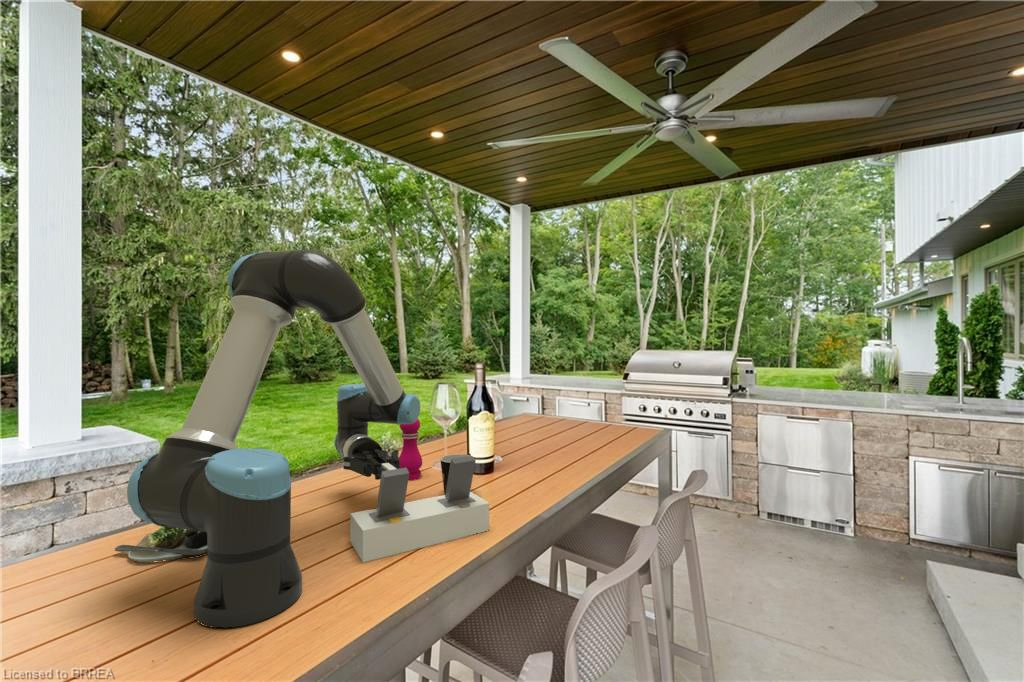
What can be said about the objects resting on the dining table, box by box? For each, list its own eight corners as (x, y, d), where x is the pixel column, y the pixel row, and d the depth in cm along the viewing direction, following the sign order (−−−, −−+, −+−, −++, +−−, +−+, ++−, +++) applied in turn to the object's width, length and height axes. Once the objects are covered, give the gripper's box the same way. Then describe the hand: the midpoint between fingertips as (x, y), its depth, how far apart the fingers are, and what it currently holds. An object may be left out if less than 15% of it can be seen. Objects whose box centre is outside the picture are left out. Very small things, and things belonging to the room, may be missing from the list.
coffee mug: (467, 502, 118) (467, 463, 118) (435, 500, 120) (435, 461, 120) (479, 488, 130) (479, 452, 130) (450, 486, 132) (450, 450, 131)
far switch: (448, 501, 100) (454, 463, 97) (444, 496, 102) (451, 459, 99) (468, 497, 103) (475, 460, 100) (465, 492, 104) (472, 455, 102)
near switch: (378, 516, 92) (384, 477, 89) (376, 510, 94) (381, 471, 90) (403, 511, 95) (409, 473, 92) (400, 505, 96) (406, 467, 93)
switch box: (363, 562, 87) (362, 528, 87) (350, 542, 96) (350, 511, 96) (489, 530, 101) (489, 500, 101) (468, 515, 110) (468, 488, 110)
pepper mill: (403, 473, 144) (402, 408, 144) (425, 474, 143) (425, 409, 143) (394, 480, 137) (393, 412, 136) (417, 481, 136) (417, 413, 135)
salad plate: (93, 577, 83) (92, 551, 83) (137, 536, 99) (136, 515, 99) (218, 560, 89) (218, 536, 89) (239, 524, 106) (239, 504, 106)
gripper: (389, 463, 117) (425, 489, 97) (335, 472, 110) (362, 502, 90) (389, 433, 117) (425, 454, 97) (334, 440, 110) (361, 463, 90)
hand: (394, 477), depth 94 cm, fingers closed
